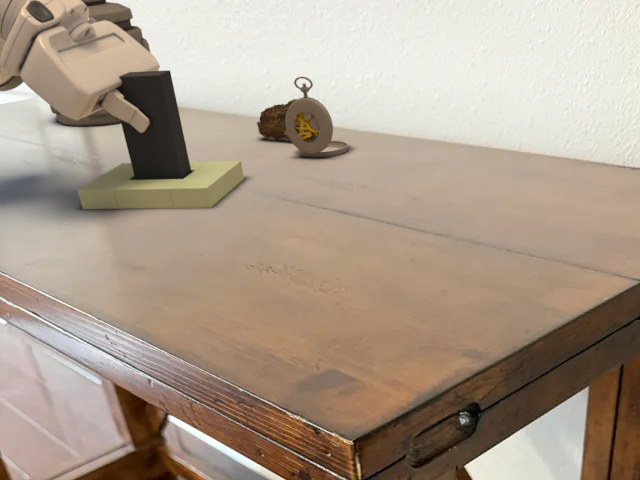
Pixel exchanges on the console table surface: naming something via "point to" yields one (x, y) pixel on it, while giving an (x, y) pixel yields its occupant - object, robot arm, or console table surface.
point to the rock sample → (275, 122)
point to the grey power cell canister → (122, 19)
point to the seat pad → (162, 187)
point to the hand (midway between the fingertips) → (156, 122)
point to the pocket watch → (311, 126)
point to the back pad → (155, 127)
